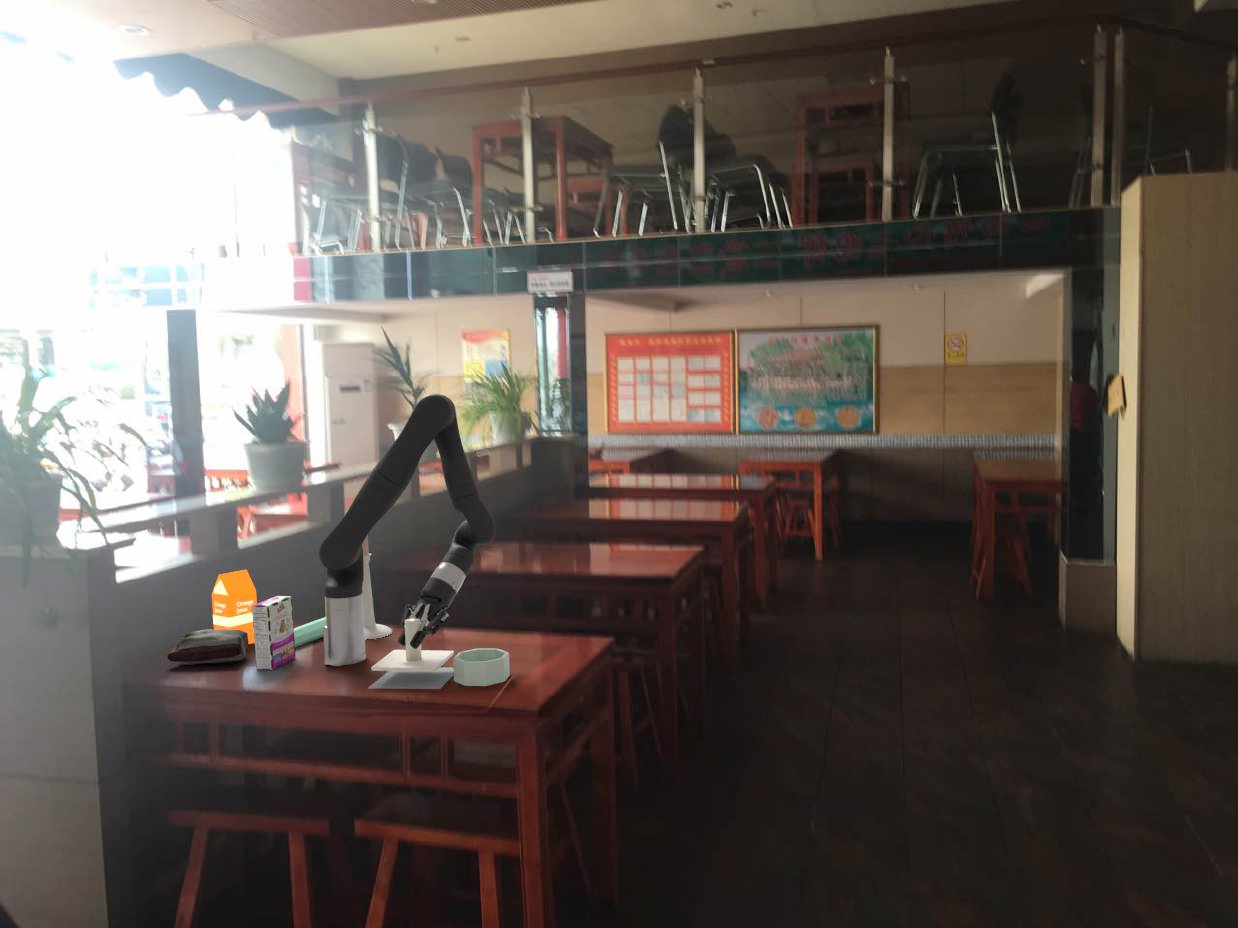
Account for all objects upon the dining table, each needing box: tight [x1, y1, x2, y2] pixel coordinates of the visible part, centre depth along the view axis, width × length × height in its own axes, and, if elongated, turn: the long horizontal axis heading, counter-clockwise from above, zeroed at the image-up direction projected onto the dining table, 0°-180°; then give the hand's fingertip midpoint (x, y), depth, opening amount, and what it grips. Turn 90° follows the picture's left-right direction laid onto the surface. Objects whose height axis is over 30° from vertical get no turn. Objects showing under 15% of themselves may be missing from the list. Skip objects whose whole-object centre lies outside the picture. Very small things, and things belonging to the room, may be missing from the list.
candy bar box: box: [252, 595, 297, 671], centre depth 247 cm, size 11×5×16 cm, turn 168°
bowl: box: [452, 647, 511, 687], centre depth 228 cm, size 12×12×6 cm
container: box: [294, 616, 326, 648], centre depth 270 cm, size 6×6×25 cm
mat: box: [367, 666, 454, 690], centre depth 230 cm, size 17×17×1 cm
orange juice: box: [211, 569, 258, 645], centre depth 270 cm, size 8×9×20 cm
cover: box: [370, 617, 455, 672], centre depth 230 cm, size 15×15×10 cm
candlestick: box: [362, 534, 393, 641], centre depth 275 cm, size 13×13×30 cm
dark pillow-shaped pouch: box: [167, 628, 250, 666], centre depth 251 cm, size 18×11×8 cm, turn 93°
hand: (406, 645), depth 228 cm, fingers closed on cover, 3 cm apart
